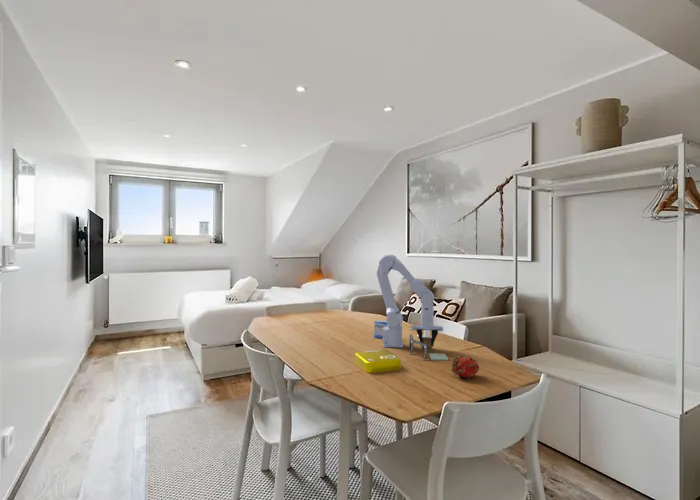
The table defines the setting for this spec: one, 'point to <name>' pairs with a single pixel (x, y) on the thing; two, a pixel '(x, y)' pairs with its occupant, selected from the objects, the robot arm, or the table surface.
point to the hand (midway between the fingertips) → (426, 345)
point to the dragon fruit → (465, 367)
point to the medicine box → (379, 328)
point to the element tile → (377, 361)
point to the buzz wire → (419, 344)
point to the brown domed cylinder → (427, 341)
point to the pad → (438, 356)
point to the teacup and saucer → (426, 334)
